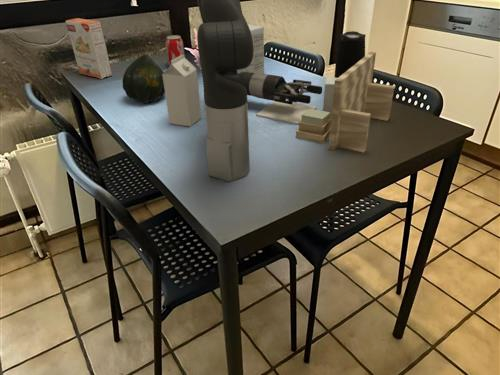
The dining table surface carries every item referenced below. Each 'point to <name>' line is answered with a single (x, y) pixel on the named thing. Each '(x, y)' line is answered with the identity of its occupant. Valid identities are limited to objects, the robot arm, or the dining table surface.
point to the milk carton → (182, 92)
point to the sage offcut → (315, 117)
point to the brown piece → (358, 105)
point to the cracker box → (89, 47)
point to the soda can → (174, 47)
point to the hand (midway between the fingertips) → (316, 95)
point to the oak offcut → (315, 128)
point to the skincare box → (329, 95)
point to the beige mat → (285, 112)
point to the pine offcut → (313, 136)
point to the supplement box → (256, 51)
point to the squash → (144, 80)
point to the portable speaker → (349, 51)
